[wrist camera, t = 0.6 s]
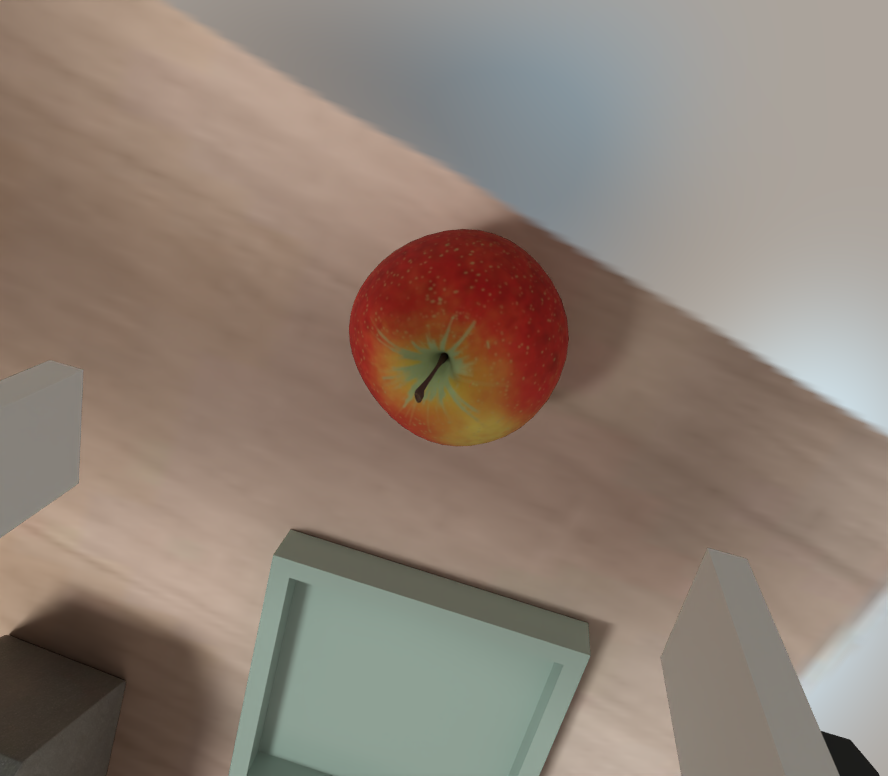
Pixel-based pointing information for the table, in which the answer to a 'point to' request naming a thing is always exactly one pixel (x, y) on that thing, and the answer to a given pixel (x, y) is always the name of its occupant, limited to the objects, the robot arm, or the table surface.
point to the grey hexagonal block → (54, 713)
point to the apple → (459, 336)
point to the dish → (399, 672)
